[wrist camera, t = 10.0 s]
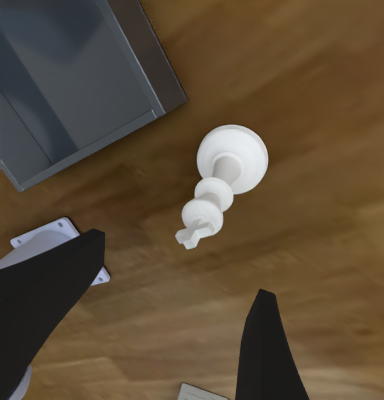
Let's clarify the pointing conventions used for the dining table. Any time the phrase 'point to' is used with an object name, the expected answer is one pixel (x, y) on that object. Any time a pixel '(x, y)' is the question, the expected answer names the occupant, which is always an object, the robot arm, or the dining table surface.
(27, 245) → the robot arm
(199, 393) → the product box
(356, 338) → the dining table surface
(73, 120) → the square open tray
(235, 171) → the chess piece
